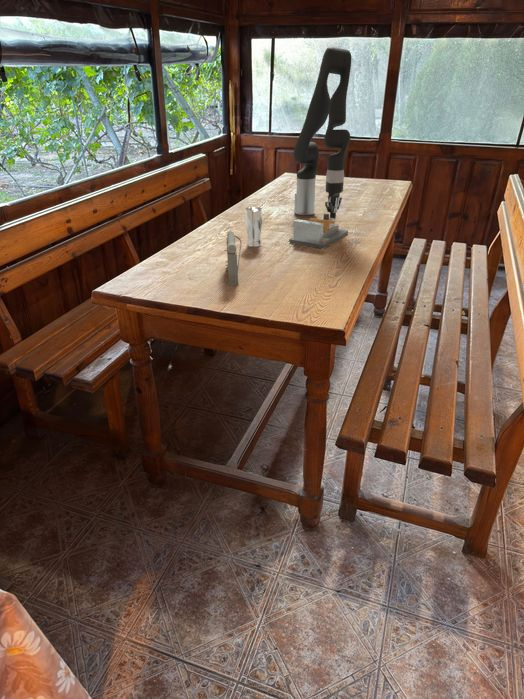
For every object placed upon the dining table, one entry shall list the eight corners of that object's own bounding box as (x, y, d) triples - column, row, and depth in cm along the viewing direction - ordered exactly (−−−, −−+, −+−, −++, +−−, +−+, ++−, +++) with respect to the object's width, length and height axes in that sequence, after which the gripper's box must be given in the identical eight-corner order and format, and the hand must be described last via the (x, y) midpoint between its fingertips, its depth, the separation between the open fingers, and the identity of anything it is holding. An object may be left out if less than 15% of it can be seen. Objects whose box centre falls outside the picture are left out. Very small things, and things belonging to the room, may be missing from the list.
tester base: (289, 242, 208) (289, 234, 206) (315, 228, 225) (315, 221, 223) (323, 248, 200) (323, 240, 198) (347, 233, 218) (348, 225, 216)
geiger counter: (222, 228, 178) (224, 250, 156) (240, 228, 178) (244, 250, 157) (225, 265, 185) (226, 291, 163) (242, 264, 185) (245, 290, 163)
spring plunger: (316, 231, 215) (316, 215, 212) (322, 227, 220) (323, 212, 216) (328, 233, 212) (329, 217, 209) (334, 229, 217) (335, 213, 213)
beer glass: (264, 243, 207) (264, 207, 200) (259, 248, 202) (258, 211, 194) (249, 241, 209) (248, 206, 202) (243, 246, 204) (242, 210, 196)
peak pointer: (309, 230, 216) (309, 218, 213) (310, 230, 216) (310, 217, 214) (333, 234, 210) (334, 221, 207) (334, 234, 211) (335, 221, 208)
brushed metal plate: (293, 239, 206) (293, 220, 202) (296, 238, 208) (297, 219, 204) (319, 244, 200) (320, 224, 196) (322, 242, 202) (323, 223, 198)
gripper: (333, 177, 217) (331, 216, 226) (320, 182, 207) (318, 223, 216) (349, 178, 214) (346, 218, 222) (336, 184, 204) (333, 225, 213)
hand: (332, 220), depth 219 cm, fingers closed
